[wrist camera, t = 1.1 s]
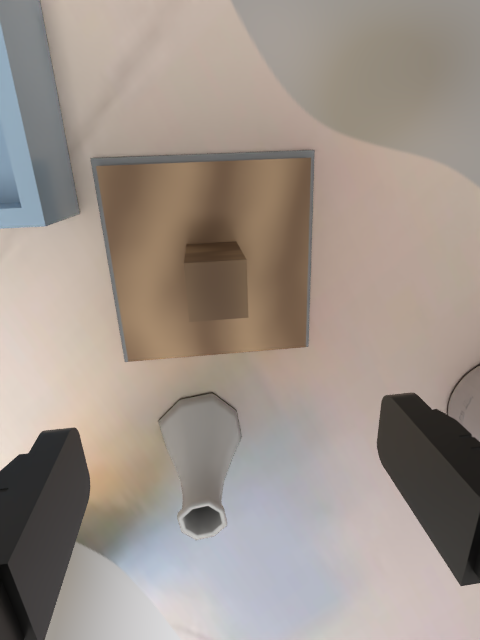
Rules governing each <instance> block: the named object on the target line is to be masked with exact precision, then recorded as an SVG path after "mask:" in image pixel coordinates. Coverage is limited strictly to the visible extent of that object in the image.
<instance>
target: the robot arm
mask: <svg viewBox="0 0 480 640" xmlns="http://www.w3.org/2000/svg"><path fill="white" fill-rule="evenodd" d="M377 449H378V454H379V458H380V460H381V463H382V465H383V467H384V468H385V470H386V471H387V473H388V474H389V476H390V477H391V479H392V481H393V482H394V484H395V485H396V487H397V488H398V490H399V491H400V493H401V494H402V496H403V498H404V499H405V501H406V502H407V504H408V505H409V507H410V508H411V510H412V511H413V513H414V515H415V516H416V518H417V519H418V521H419V522H420V524H421V525H422V527H423V528H424V530H425V532H426V533H427V535H428V536H429V538H430V539H431V541H432V542H433V544H434V545H435V547H436V548H437V550H438V552H439V553H440V555H441V556H442V558H443V559H444V561H445V562H446V564H447V565H448V567H449V569H450V570H451V572H452V573H453V575H454V576H455V578H456V579H457V581H458V582H459V584H460V586H464V585H471V584H477V583H480V365H479V366H478V367H476V368H475V369H473V370H472V371H470V372H469V373H468V374H467V375H466V376H465V377H464V378H463V379H462V380H461V381H460V383H459V384H458V385H457V386H456V388H455V390H454V392H453V393H452V395H451V398H450V401H449V405H448V415H446V414H445V413H443V412H441V411H439V410H437V409H434V410H432V409H431V408H430V407H429V406H428V405H427V404H426V403H425V402H424V401H423V400H422V399H421V398H420V397H419V396H418V395H417V394H415V393H404V394H395V395H386V396H384V397H383V399H382V403H381V411H380V420H379V429H378V438H377ZM89 494H90V477H89V472H88V468H87V464H86V459H85V455H84V451H83V447H82V443H81V439H80V435H79V432H78V430H77V429H76V428H66V429H56V430H47V431H42V432H41V433H40V435H39V436H38V438H37V440H36V441H35V443H34V445H33V447H32V448H31V450H30V452H29V454H20V455H18V456H17V457H16V458H15V459H14V460H12V461H11V462H10V463H9V464H8V465H7V466H6V467H4V468H3V469H2V470H1V471H0V640H45V636H46V633H47V630H48V627H49V624H50V621H51V617H52V614H53V611H54V608H55V605H56V601H57V598H58V595H59V592H60V589H61V586H62V583H63V579H64V576H65V573H66V570H67V567H68V564H69V560H70V557H71V554H72V551H73V548H74V545H75V541H76V538H77V535H78V532H79V529H80V526H81V522H82V519H83V516H84V513H85V510H86V507H87V503H88V500H89Z"/></svg>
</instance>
